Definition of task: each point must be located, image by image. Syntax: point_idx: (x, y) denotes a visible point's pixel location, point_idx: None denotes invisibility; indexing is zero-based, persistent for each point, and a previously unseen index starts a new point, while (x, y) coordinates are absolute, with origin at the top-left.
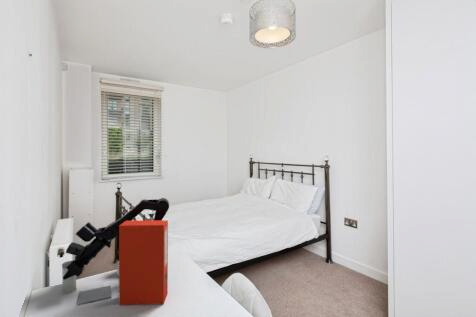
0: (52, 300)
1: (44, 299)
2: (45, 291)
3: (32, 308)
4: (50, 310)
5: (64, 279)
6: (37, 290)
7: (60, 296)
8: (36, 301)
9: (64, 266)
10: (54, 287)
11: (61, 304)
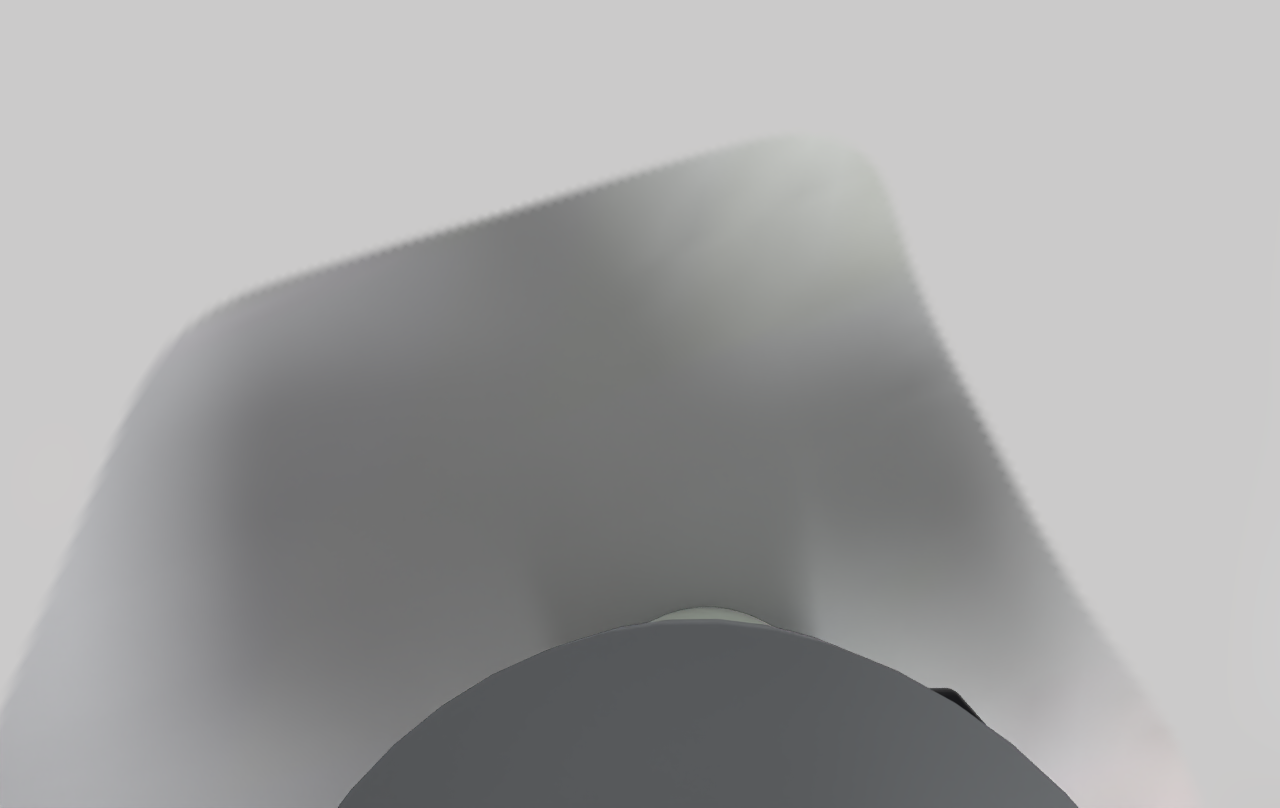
0: (401, 539)
1: (478, 390)
2: (764, 290)
3: (256, 326)
4: (85, 630)
5: None
6: (831, 146)
7: (502, 632)
8: (452, 292)
9: None
10: (891, 386)
11: (205, 755)
